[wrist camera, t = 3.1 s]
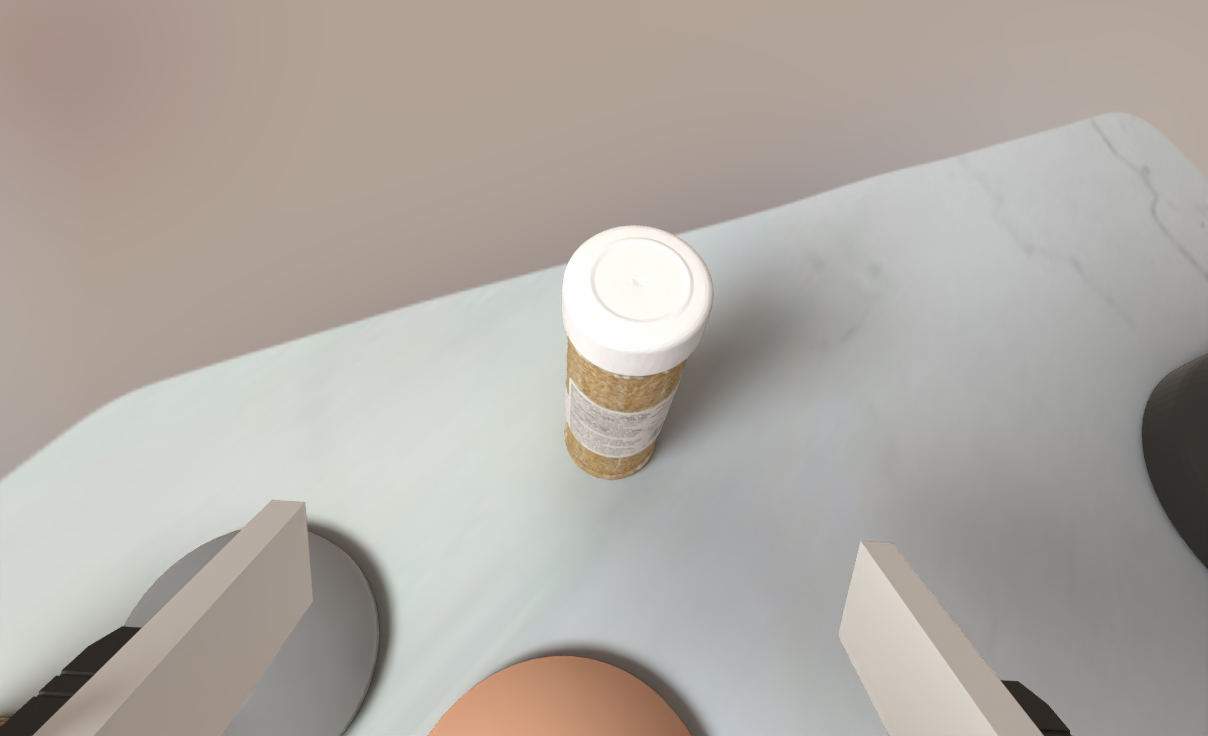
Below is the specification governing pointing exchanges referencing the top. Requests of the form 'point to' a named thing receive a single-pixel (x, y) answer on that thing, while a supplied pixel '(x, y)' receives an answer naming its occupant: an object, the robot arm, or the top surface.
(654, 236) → the sprinkles bottle
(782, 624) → the top surface
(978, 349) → the top surface
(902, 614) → the robot arm
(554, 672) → the terracotta coaster
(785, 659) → the top surface
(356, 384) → the top surface
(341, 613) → the slate coaster
